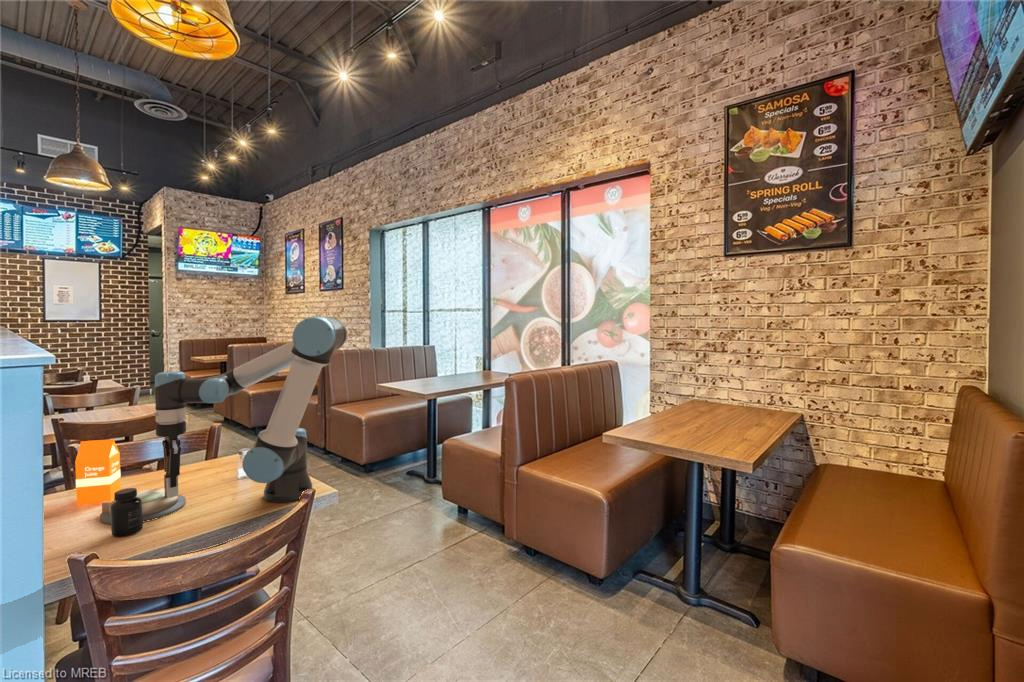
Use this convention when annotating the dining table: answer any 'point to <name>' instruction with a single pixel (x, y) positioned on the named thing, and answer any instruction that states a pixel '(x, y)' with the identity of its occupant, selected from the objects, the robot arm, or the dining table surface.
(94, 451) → the orange juice
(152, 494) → the turntable
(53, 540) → the dining table surface
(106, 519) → the base
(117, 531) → the supplement bottle
